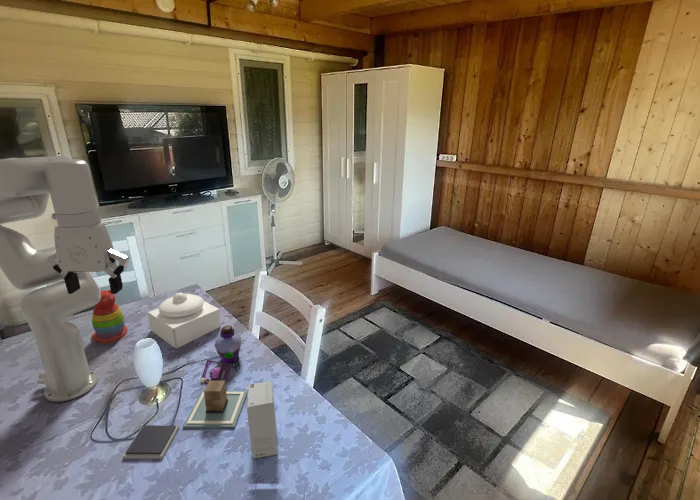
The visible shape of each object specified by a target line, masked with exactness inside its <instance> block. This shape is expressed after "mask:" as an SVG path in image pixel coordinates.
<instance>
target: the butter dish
mask: <svg viewBox="0 0 700 500" xmlns="http://www.w3.org/2000/svg"><path fill="white" fill-rule="evenodd" d="M220 312H221V311H220V308H218V307H216V306H215V305H212V304H210V303H209V302H207V301H206V300H204V298H202V297H200V296H199V295H197V294H193V293H183V292H177V293H175V294H174V295H173V296H171V297H169V298H167V299H165V300H164V301H162V302H161V303H160V304H159V307H158V308H156V309H152V310H149V311H147V317H148V322H149V327H150V332H151V333H154V334H155V335H156V336H158V337H159V338H161V339H162V340H163V341H165V342H166V343H167V344H169V345H170V346H172V347H173V348H174V349H178V348H180V347H182V346H185V345H186V344H189V343H191V342H193V341H195V340H196V339H199V338H200V337H203V336H205V335H208V334H209V333H211V332H213V331H215V330H217V329H218V328H222V325H221V315H220Z"/></svg>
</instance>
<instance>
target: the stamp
mask: <svg viewBox="0 0 700 500" xmlns="http://www.w3.org/2000/svg"><path fill="white" fill-rule="evenodd" d="M212 380H213V379H209V382H208V384H206V386H205V388H204V390H203V391H204V397H205V404H206V413H223V412H224V410H225V408H226V405H227V403H228V399H227V393H226V391H227V386H226V385H227V383H226V384H225V381H217V380H213V381H212Z"/></svg>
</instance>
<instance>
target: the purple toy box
mask: <svg viewBox="0 0 700 500" xmlns="http://www.w3.org/2000/svg"><path fill="white" fill-rule="evenodd" d="M212 363H213V364H217V365H218V364H219V365H221V366H220V367H215V368H213V369H210V371H208V369H209V366H210V365H212ZM231 368H232V364H231V363H225V362H220V361H215V360H209V359H207V360H206V363H205V366H204V369H203V371H202V374H201V378H200V383H202V384H204V385H205V384H206V385H207V384H208V382H209V380H210V379H209V378H211V380H212V381H214V380H216V381H225V384H226V385H227V382H228V379H229V375H230V371H231ZM207 372H208V374H209V375H208V378H206V376H207Z"/></svg>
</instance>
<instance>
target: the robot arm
mask: <svg viewBox="0 0 700 500" xmlns="http://www.w3.org/2000/svg"><path fill="white" fill-rule="evenodd" d="M49 197H50V198H51V202H52V206H53V210H54V212H53V213H52V214H51V218H52V220H56V222H57V226H54V237H53V238H54V246H53V247H48V248H43V249H37V248H35V246H33V244H32V242H31V241H30V239H29V237H27V236H26V235H24V234H22V233H20V232H19V231H17V230H14V229H11V228H9V227H6V226H4V224H9V223H15V222H20V221H25V220H31V219H32V220H33V219H36V218H39V217H41V216H42V215H44V214H45V212H46V210H47V207H48V201H49ZM100 215H101V214H100V210H99V205H98V200H97V197H96V191H95V188H94V182H93V178H92V173H91V169H90V165H89V164H88V162H87V161H85V160H84V159H78V158H75V159H74V158H71V157H69V156H65V155H64V156H63V155H54V156H53V155H52V156H33V157H10V158H9V157H8V158H0V269H1V271H2V272H3V273H4V275H5V277H6V278H7V280H8V281H9V282H10V283H11V285H12V286H13V287H15V289H18V290H21V291H25V290H27V291H28V290H31V289H35V290H32V291H30V292H29V293H27V294H24V296H23V297H22V298H21V300H20V302H19V308H20V310H21V314H22V315H23V317H24V319H25V320H26V322H27V324H28V326H29V327H30V329H31V332H32V335H33V337H34V340H35V344H36V347H37V349H38V354H39V357H40V359H41V362H42V366H43V369H44V372H43V371H41V372H40V373H39V375H38V379H37V380H36V384H38V385H45V387H46V388H45V389H44V391H43V393H44V394H43V395H44V397H45V399H46V400H47V401H49V402H56V403H57V402H65V401H70V400H73V399H76V398H79V397H81V396H82V395H84V394H87V393H88V392H89V391H91V390H92V389H93V388H94V387H95V386H96V384H97V383H98V381H99V376H98V374H97V372H96V371H93V370H90V368H89V363H88V359H87V355H86V351H85V349H84V348H85V347H84V344H83V340H82V336H81V333H80V329H79V328H78V326H77V325H76V324H75V323H73V322H70V321H68V320H66V319H67V318H68V317H71V316H73V315H74V314H78V313H80V312H83V311H86V310H87V309H90V308H93V307H94V305H96V304H97V303H99V301H100V299H101V289H100V287H99V285H98V284H97V282H96V281H95V279H94V278H93V275H91V273H100V272H105V273H106V274H107V275H108V276H109V278H108V282H109V283H108V284H109V288H110V289H109V290H111V293H112V294H114V295H116V294H118V293H120V291H122V290H123V287H124V286H123V285H124V284H123V281H122V280H123V279H122V276H121V274H122V273H124V271H125V270H126V268H127V267H128V263H129V260H130V257H129V256H127V255H126V254H123V253H120V252H119V251H116V250H115V249H114V246H113V242H112V239H111V236H110V233H109V232H108V229H107V227H106V225H105V222H102V219H101V216H100ZM116 261H118V264H117V263H116ZM59 281H60V282H59ZM49 284H50V285H49ZM45 285H47V286H45ZM43 286H44V287H43ZM37 288H38V289H37Z"/></svg>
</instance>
